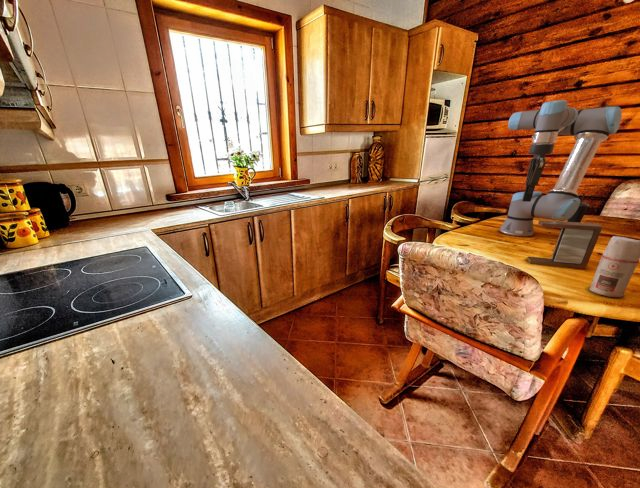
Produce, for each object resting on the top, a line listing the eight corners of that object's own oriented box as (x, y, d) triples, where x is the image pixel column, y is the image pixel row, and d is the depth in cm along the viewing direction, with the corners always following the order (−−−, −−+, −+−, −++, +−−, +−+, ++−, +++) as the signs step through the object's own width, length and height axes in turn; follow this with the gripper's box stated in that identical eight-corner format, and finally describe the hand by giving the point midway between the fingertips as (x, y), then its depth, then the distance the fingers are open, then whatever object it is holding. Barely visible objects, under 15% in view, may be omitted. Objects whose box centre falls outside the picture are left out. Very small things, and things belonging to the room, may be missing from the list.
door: (550, 258, 120) (562, 226, 114) (578, 260, 116) (591, 227, 110) (552, 259, 119) (563, 227, 113) (580, 262, 115) (593, 228, 109)
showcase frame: (526, 259, 124) (538, 220, 117) (580, 264, 117) (596, 223, 110) (529, 263, 120) (542, 223, 113) (585, 269, 113) (603, 226, 106)
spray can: (580, 287, 100) (602, 234, 92) (601, 286, 100) (625, 233, 92) (607, 299, 92) (634, 242, 84) (630, 297, 92) (658, 240, 84)
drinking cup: (573, 225, 165) (585, 191, 157) (584, 229, 158) (598, 194, 150) (559, 226, 166) (570, 192, 158) (569, 229, 159) (582, 194, 151)
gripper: (527, 143, 121) (512, 198, 130) (535, 144, 110) (519, 203, 120) (549, 143, 118) (532, 198, 127) (560, 143, 107) (541, 204, 116)
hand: (526, 201), depth 123 cm, fingers closed
